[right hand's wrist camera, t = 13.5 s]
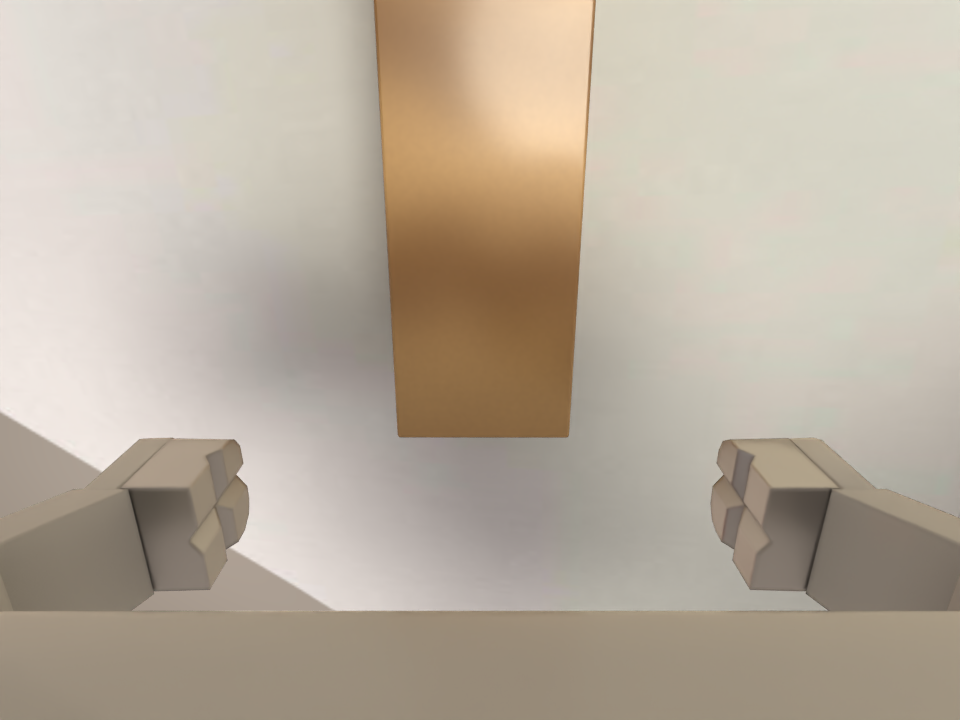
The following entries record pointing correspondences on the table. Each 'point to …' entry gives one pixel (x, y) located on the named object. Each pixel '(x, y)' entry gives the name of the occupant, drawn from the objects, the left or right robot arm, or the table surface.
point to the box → (484, 208)
